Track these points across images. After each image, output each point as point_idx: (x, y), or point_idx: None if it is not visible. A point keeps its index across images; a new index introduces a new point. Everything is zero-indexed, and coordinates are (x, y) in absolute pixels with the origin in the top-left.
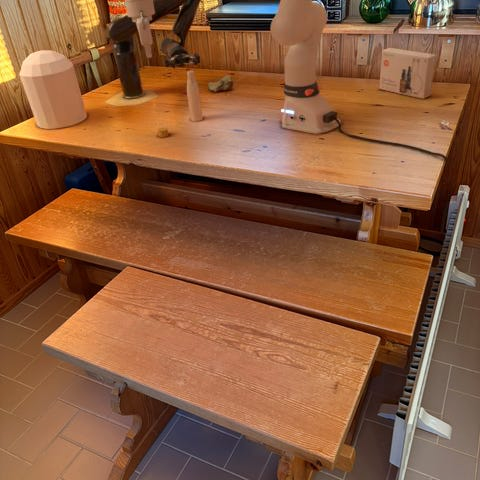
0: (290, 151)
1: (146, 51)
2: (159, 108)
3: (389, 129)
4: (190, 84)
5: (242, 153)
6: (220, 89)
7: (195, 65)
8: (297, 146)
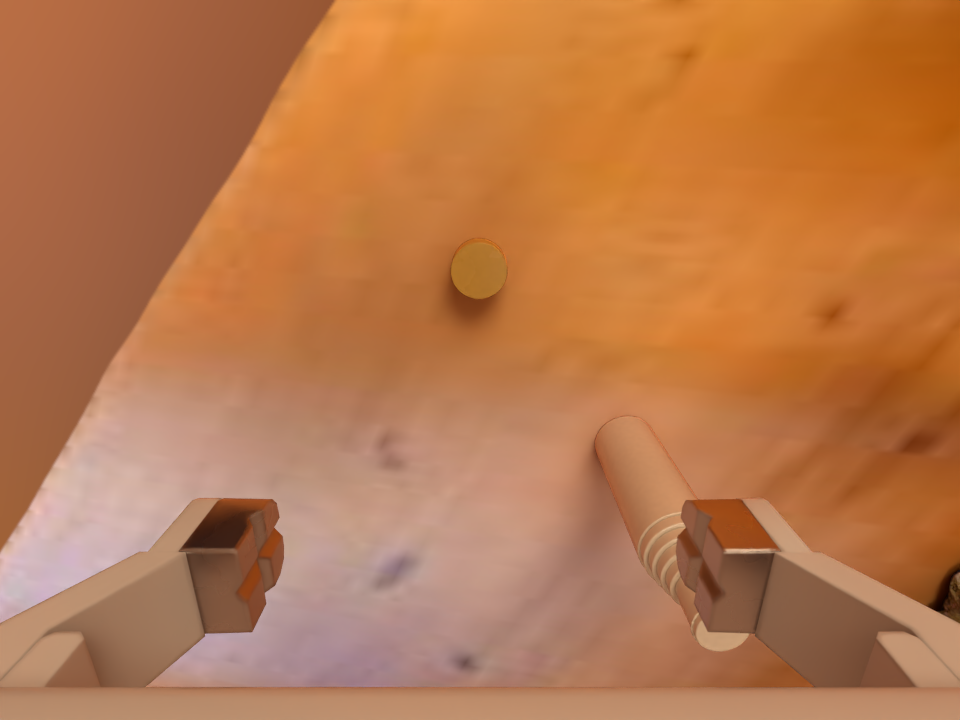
0: None
1: (121, 579)
2: (924, 275)
3: None
4: (662, 557)
5: None
6: (950, 601)
7: None
8: None
